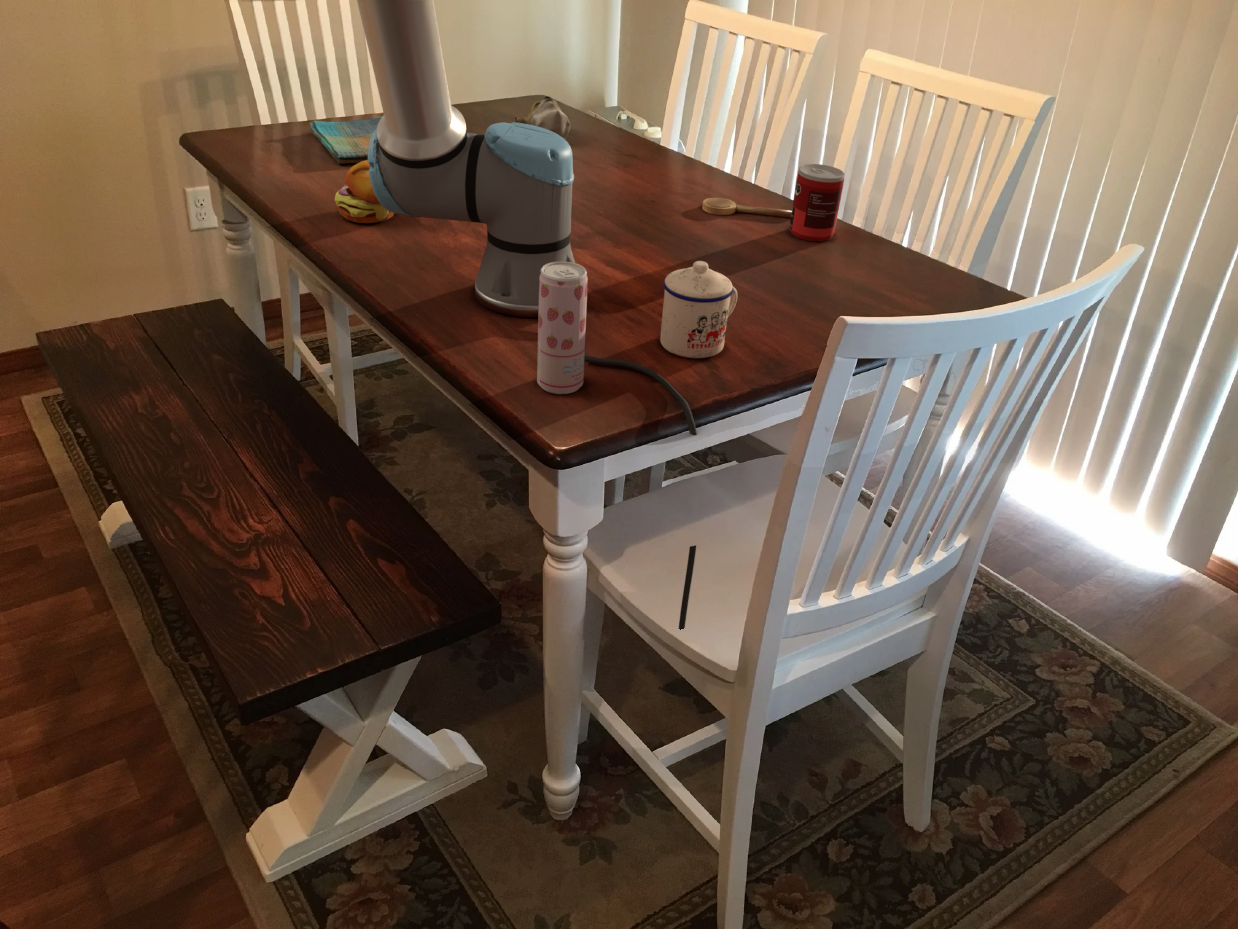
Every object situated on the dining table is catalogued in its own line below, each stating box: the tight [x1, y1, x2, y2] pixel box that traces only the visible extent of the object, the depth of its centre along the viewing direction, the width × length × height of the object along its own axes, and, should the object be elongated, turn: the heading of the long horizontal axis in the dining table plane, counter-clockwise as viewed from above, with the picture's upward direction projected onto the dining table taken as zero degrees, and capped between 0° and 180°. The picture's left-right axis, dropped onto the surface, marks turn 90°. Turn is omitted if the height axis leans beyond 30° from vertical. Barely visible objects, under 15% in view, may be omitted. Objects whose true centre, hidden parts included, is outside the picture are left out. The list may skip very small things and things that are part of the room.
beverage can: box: [536, 261, 589, 395], centre depth 118 cm, size 6×6×15 cm
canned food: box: [789, 163, 846, 243], centre depth 169 cm, size 8×8×11 cm
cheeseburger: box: [334, 160, 395, 224], centre depth 164 cm, size 10×11×10 cm
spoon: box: [701, 197, 792, 219], centre depth 179 cm, size 17×6×1 cm, turn 82°
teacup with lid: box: [659, 260, 739, 359], centre depth 131 cm, size 12×9×12 cm
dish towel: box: [309, 115, 384, 165], centre depth 198 cm, size 17×23×3 cm
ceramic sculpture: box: [514, 95, 572, 140], centre depth 210 cm, size 11×9×15 cm
